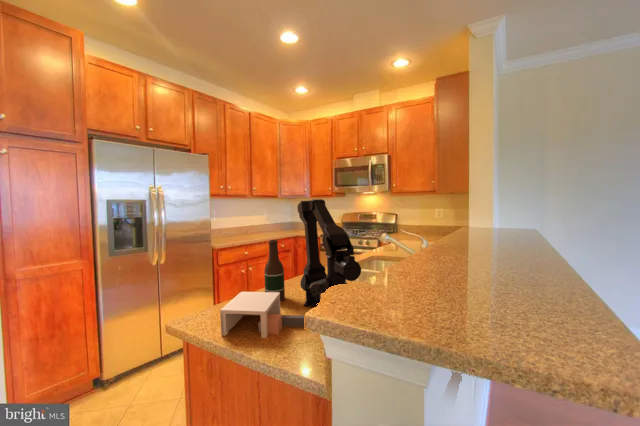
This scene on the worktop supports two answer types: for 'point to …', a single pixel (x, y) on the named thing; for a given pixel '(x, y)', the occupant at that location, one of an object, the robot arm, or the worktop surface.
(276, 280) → the beer bottle
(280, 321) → the cube
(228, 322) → the cubby
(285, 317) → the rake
